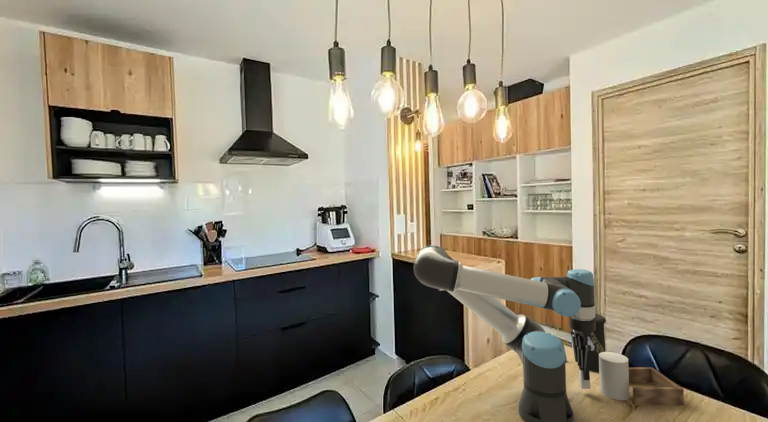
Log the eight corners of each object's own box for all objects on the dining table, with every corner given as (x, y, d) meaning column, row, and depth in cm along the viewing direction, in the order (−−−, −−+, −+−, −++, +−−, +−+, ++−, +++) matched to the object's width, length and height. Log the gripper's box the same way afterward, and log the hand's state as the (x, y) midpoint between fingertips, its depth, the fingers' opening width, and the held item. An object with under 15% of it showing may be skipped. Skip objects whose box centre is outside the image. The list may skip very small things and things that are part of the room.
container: (583, 371, 131) (582, 318, 130) (578, 360, 140) (576, 310, 139) (610, 373, 128) (609, 319, 128) (603, 362, 137) (601, 311, 136)
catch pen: (635, 405, 109) (635, 389, 109) (610, 381, 123) (609, 367, 123) (683, 405, 108) (683, 389, 108) (652, 381, 122) (652, 367, 122)
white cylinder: (634, 400, 111) (633, 363, 111) (605, 399, 113) (604, 362, 113) (622, 387, 119) (621, 352, 119) (595, 385, 121) (594, 351, 121)
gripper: (604, 323, 109) (607, 398, 110) (584, 310, 122) (586, 377, 123) (579, 324, 110) (582, 398, 111) (561, 311, 123) (564, 377, 124)
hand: (584, 387), depth 117 cm, fingers closed
